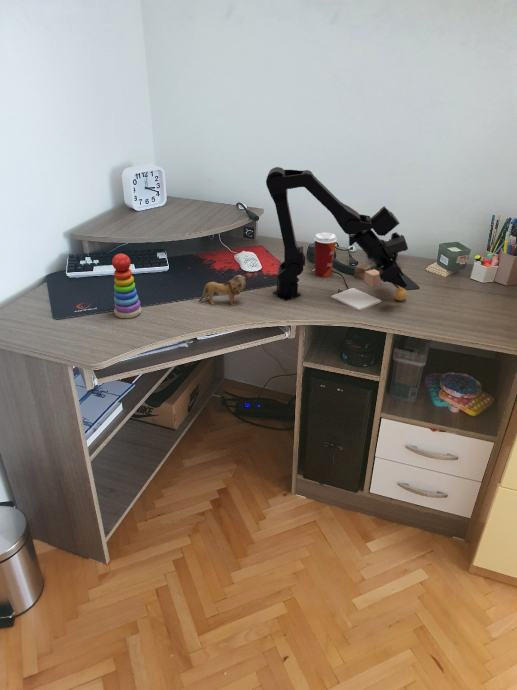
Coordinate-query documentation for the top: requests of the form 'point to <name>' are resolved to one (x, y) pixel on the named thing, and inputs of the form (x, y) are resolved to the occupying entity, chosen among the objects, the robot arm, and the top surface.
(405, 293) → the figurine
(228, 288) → the lion figurine
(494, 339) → the top surface
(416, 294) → the top surface
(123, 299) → the stacking toy
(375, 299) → the mat
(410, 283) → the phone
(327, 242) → the paper cup
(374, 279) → the terracotta block
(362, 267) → the walnut block
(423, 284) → the top surface
